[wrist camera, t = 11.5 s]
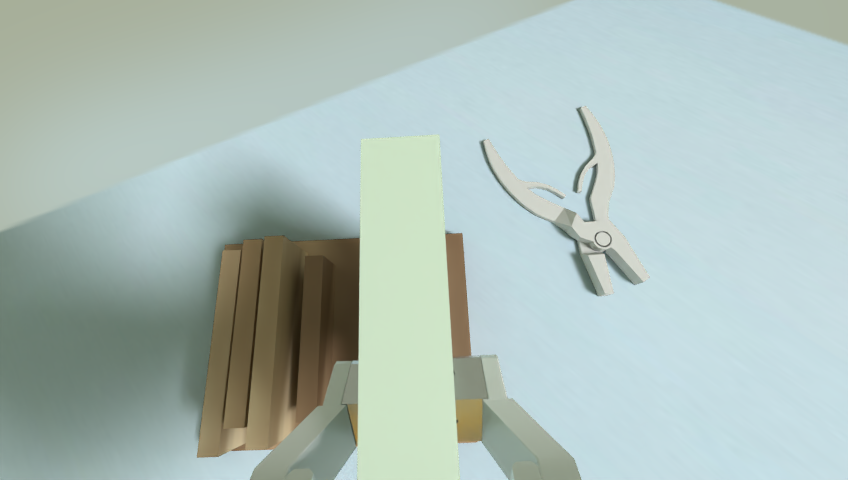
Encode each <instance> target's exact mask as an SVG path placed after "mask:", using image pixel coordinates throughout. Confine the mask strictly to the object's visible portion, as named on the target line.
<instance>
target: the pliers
mask: <svg viewBox="0 0 848 480" xmlns="http://www.w3.org/2000/svg"><path fill="white" fill-rule="evenodd" d="M579 111H580V113H581V115H582V117H583V120H584V122H585V125H586V127H587V130H588V132H589V135H590V138H591V142H592V146H593V150H594V157H593V158H592V160H591V161H590V162H589V163H588V164H587V165H586V166H585V167H584V169H583V170H582V172H581V174H580V175H579V179H578V184H577V193H580V192H581V191H582V183H583V179H584V176H585V174H586V172H587V171H588V169H590V168H592V167H593V166H595V165H596V177H595V181H594V185H593V189H592V192H591V195H590V198H589V203H590V207H591V212H592V216H593V220H594V221H592V222H584V221H583V220H582V219H581V218H580V216H579V215H578V214H577V213H575V212H573V211H570V210H568V209H565V208H563V207H561V206H559V205H556V204H554V203H552V202H550V201H548V200H545V199H544V198H542V197H540V196H538V195H536V194H534V193H533V192H532V191H531V190H529V189H534V188H538V189H543V190H547V191H549V192H551V193H553V194H555V195H557V196H558V197H560V198H561V199H564V197H565V196H566V195H565V194H563V193H562V192H560V191H559V190H557V189H555V188H553V187H551V186H549V185H546V184H542V183H538V182H525V181H522V180H519V179H518V178H517V177H516V176H515V175H514V174H513V173H512V172H511V170H510V169H509V168H508V167H507V166H506V164H505V163H504V162H503V160H502V159H501V157H500V156H499V154H498V153H497V151H496V150H495V148H494V147H493V145H492V143H491V142H490V140H489V139H487V140H484V141H483V145H484V149H485V152H486V155H487V158H488V161H489V164H490V166H491V168H492V170H493V172H494V174H495V175H496V177H497V178H498V180H499V182H500V183H501V184H502V186H503V187H504V188H505V189H506V190H507V192H508V193H509V194H510V195H511V196H512V197H513V198H514V199H515V200H516V201H517V202H518V203H519V204H520V205H522V206H523V207H524V208H525V209H526V210H528V211H529V212H531V213H532V214H534V215H535V216H537V217H540V218H542V219H544V220H547V221H549V222H552V223H554V224H555V225H557V226H558V227H559V228H561V229H562V230H564V231H565V232H566V233H567V234H568V235H569V236H571V237H572V238H574V239H576V240H577V242H578V247H579V252H580V256H581V258H582V260H583V263H584V265H585V267H586V269H587V272H588V274H589V276H590V278H591V281H592V283H593V285H594V288H595V290H596V292H597V294H598V296H607V295H610V294H613V293H614V292H613V288H612V283H611V279H610V275H609V271H608V266H607V262H606V258H605V254H604V253H602V252H604V251H605V250H606V254H608V255H609V257H610V258H611V259H612V260H613V261H614V262H615V263H616V265H617V266H618V267H619V268H620V269H621V270H622V271H623V272H624V274H625V275H626V276H627V277H628V278H629V279H630V280H631V281H632V283H633V284H634V285H636V284H639V283H642V282H644V281H646V280H647V279H648V278H650V276H649V275H648V273H647V272H646V270H645V268H644V267H643V265H642V264H641V262H640V260H639V259H638V257H637V256H636V254H635V252H634V251H633V249H632V248H631V246H630V244H629V243H628V241H627V240H626V238H625V236H624V235H623V234H622V233H621V232H620V231H619V230H618V229H617V228H616V227H615V226H614V224H613V223H612V222H611V221H610V220H609V217H608V210H609V200H610V197H611V195H612V192H613V189H614V182H615V169H614V161H613V156H612V152H611V148H610V145H609V142H608V140H607V137H606V135H605V133H604V131H603V129H602V127H601V125H600V124H599V122H598V121H597V119H596V118H595V117H594V115H593V114H592V113H591V112H590V110H589V109H588V108H587V107H586V106H584V107H581V108H580V110H579Z"/></svg>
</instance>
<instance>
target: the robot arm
mask: <svg viewBox="0 0 848 480" xmlns="http://www.w3.org/2000/svg"><path fill="white" fill-rule="evenodd" d="M358 365H359V361H337V362H336V363H335V365H334V367H333V371H332V374H331V378H330V381H329V385H328V388H327V392H326V395H325V399H324V402H323V406H317V407H316V408H315V409H314V410H313V411H312V412H311V413H310V414H309V415H308V416H307V417H306V418H305V419H304V420H303V421H302V422H301V423H300V424H299V425H298V426H297V427H296V428H295V429H294V430H293V431H292V432H291V433H290V434H289V435H288V436H287V437H286V438H285V439H284V440H283V441H282V442H281V443H280V444H279V445H278V446H277V447H276V448H275V449H274V450H273V451H272V452H271V453H270V454H269V455H268V456H267V457H266V458H265V459H264V460H263V461H262V462H261V463H260V464H259V465H258V466H257V467H256V468H255V469H254V471H253V473H252V476H251V478H250V480H334V478H335V477H336V476H337V474H338V473H339V471H340V470H341V468H342V467H343V466H344V464H345V463H346V461H347V460H348V458H349V457H350V455H351V454H352V453H353V451H354V450H355V448H356V445H358ZM453 373H454V390H455V406H456V423H457V440H458V441H482V443H483V444H484V446H485V447H486V449H487V450H488V451H489V453H490V454H491V456H492V457H493V458H494V460H495V461H496V463H497V464H498V465H499V467H500V468H501V470H502V471H503V472H504V474H505V475H506V477H507V478H508V479H509V480H581V477H580V474H579V471H578V468H577V466H576V463H575V460H574V458H573V457H572V456H571V455H570V454H569V453H568V452H567V451H566V450H565V449H564V448H563V447H562V446H561V445H559V444H558V443H557V442H556V441H555V440H554V439H553V438H552V437H551V436H550V435H549V434H548V433H547V432H546V431H545V430H544V429H543V428H542V427H541V426H540V425H539V424H538V423H537V422H536V421H535V420H534V419H533V418H532V417H531V416H530V415H529V414H528V413H527V412H526V411H525V410H524V409H523V408H522V407H521V406H520V405H519V404H518V403H516V402H515V401H514V400H513V399H508V398H507V394H506V390H505V386H504V381H503V377H502V373H501V369H500V365H499V360H498V357H497V355H480V356H479V355H477V356H458V357H453Z"/></svg>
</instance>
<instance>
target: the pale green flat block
mask: <svg viewBox="0 0 848 480" xmlns="http://www.w3.org/2000/svg"><path fill="white" fill-rule="evenodd" d="M357 480H460V473H459V457H458V440H457V423H456V406H455V390H454V373H453V356H452V339H451V323H450V306H449V289H448V273H447V256H446V239H445V222H444V206H443V189H442V172H441V155H440V139H439V135H424V136H407V137H390V138H373V139H361V189H360V277H359V365H358V453H357Z"/></svg>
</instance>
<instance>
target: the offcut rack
mask: <svg viewBox="0 0 848 480" xmlns="http://www.w3.org/2000/svg"><path fill="white" fill-rule="evenodd" d="M445 239H446V256H447V273H448V289H449V306H450V323H451V339H452V356H453V357H458V356H471V346H470V332H469V319H468V305H467V291H466V277H465V264H464V250H463V236H462V233H457V234H445ZM359 277H360V238H354V239H334V240H313V241H290V240H289V239H288V238H286V237H285V236H265V238H264V240H263V239H253V240H244V241H243V244H230V245H225V250H224V251H223V252H222V260H221V268H220V276H219V284H218V292H217V300H216V308H215V316H214V324H213V332H212V340H211V348H210V356H209V364H208V372H207V380H206V388H205V396H204V404H203V412H202V420H201V428H200V436H199V444H198V452H197V457H219V456H221V455H223V454H225V453H227V452H229V451H241V450H270V449H275V448H276V447H277V446H278V445H279V444H280V443H281V442H282V441H283V440H284V439H285V438H286V437H287V436H288V435H289V434H290V433H291V432H292V431H293V430H294V429H295V428H296V427H297V426H298V425H299V424H300V423H301V422H302V421H303V420H304V419H305V418H306V417H307V416H308V415H309V414H310V413H311V412H312V411H313V410H314V409H315V408H316V407H317V406H323V402H324V399H325V395H326V392H327V388H328V385H329V381H330V378H331V374H332V371H333V367H334V365H335V363H336V362H337V361H359ZM471 442H477V441H458V443H471ZM356 446H358V445H356Z"/></svg>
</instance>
